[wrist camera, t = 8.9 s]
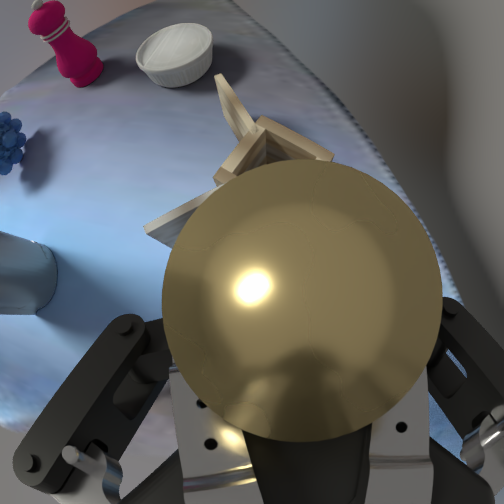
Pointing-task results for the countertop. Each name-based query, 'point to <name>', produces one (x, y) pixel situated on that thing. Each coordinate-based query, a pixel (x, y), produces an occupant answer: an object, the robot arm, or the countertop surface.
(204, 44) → the ramekin
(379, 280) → the brass peg
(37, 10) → the pepper mill
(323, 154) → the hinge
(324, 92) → the countertop surface
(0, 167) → the grapes
